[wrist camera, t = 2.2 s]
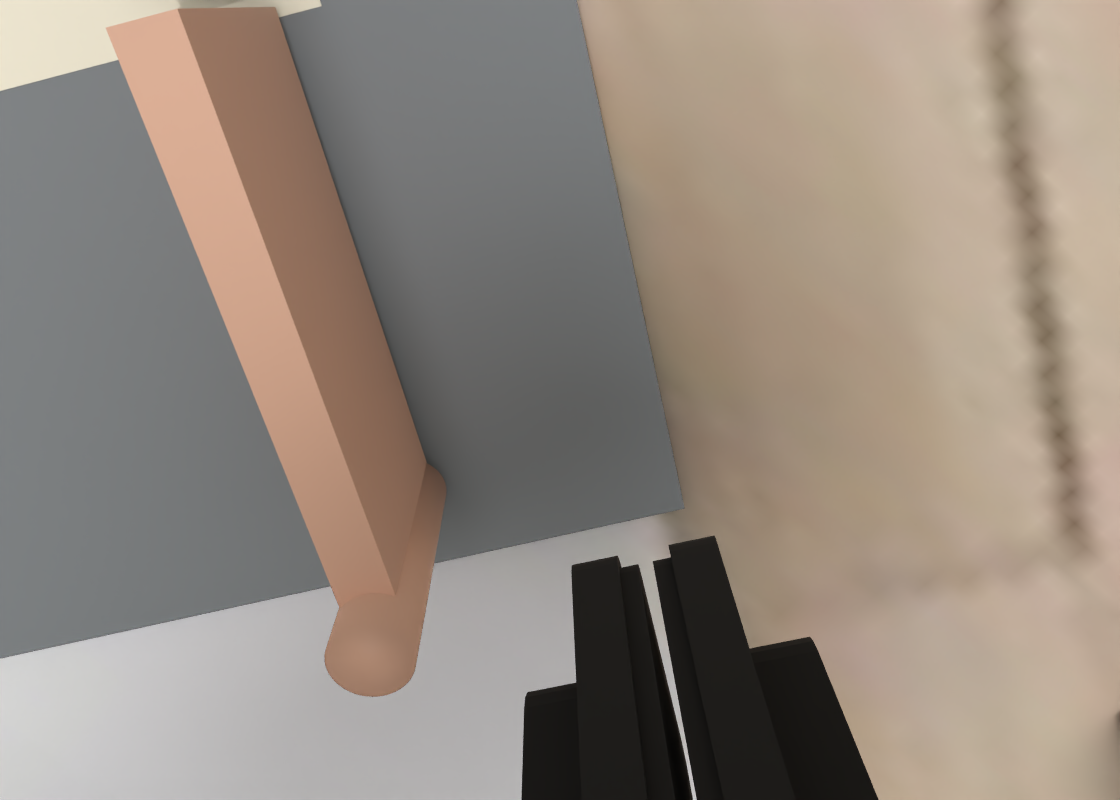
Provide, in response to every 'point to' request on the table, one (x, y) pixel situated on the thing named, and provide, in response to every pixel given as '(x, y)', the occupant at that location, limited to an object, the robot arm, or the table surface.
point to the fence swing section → (296, 316)
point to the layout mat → (394, 282)
